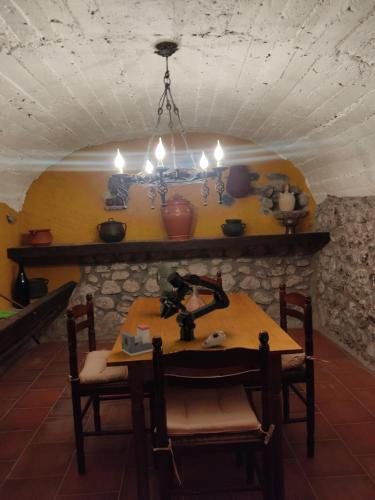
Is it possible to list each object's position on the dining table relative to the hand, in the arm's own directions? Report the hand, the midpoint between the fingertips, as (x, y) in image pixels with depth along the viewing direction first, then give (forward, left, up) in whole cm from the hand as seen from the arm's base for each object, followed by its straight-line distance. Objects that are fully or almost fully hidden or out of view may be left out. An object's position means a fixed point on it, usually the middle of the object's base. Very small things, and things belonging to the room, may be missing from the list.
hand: (162, 318), depth 208 cm
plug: (+6, +13, -12) cm, 19 cm away
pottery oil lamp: (-24, -9, -14) cm, 29 cm away
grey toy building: (+6, +13, -13) cm, 19 cm away
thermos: (+34, -53, -14) cm, 64 cm away
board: (+6, +13, -14) cm, 20 cm away
